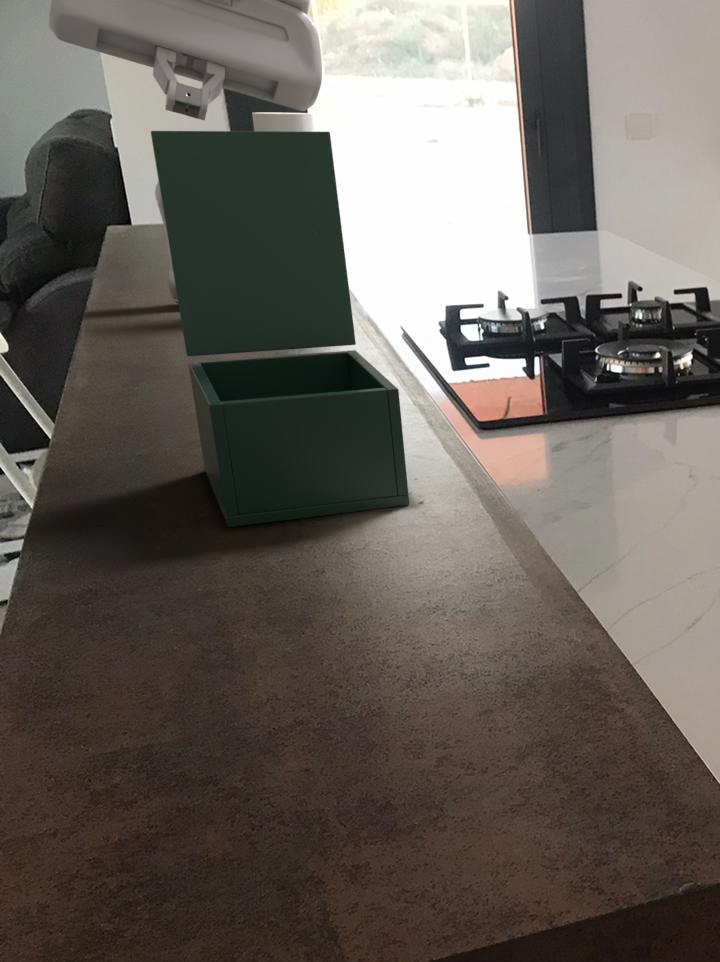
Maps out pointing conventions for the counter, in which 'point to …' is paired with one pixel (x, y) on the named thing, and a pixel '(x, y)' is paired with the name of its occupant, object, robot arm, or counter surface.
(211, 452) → the green open box
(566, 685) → the counter surface
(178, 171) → the lid
